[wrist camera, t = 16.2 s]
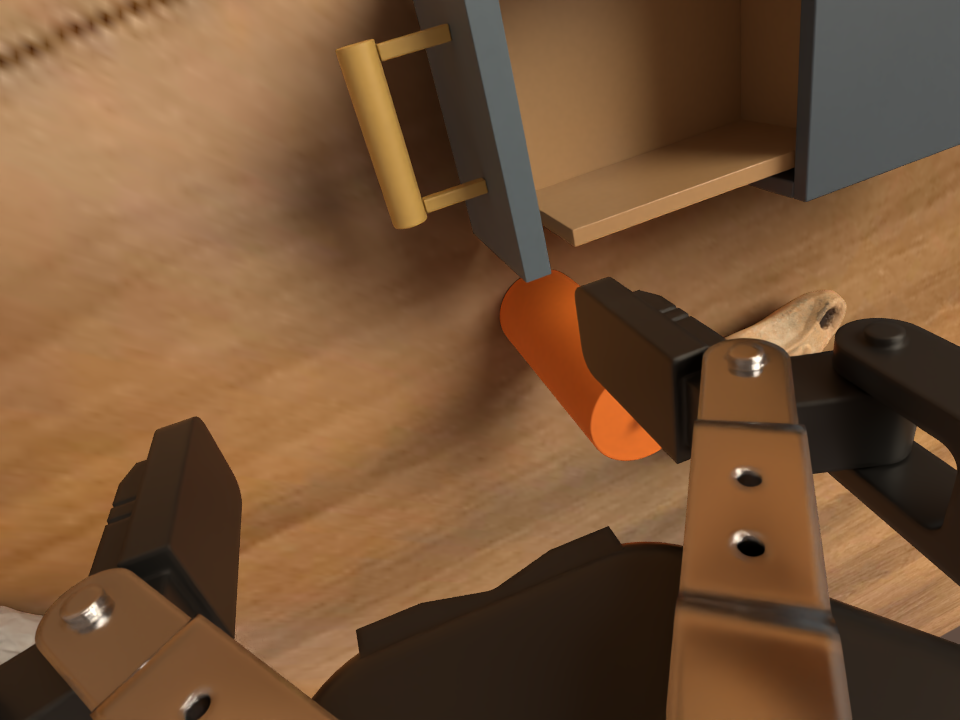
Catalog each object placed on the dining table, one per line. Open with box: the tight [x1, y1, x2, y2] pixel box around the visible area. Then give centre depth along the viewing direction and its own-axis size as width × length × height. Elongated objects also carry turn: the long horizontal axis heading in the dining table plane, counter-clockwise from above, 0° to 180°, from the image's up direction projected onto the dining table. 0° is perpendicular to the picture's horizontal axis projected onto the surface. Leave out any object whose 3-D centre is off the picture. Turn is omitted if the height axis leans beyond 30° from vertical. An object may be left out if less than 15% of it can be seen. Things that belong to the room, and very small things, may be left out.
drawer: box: [335, 0, 801, 283], centre depth 26 cm, size 21×13×8 cm, turn 104°
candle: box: [500, 270, 662, 461], centre depth 31 cm, size 5×5×13 cm
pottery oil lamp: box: [725, 290, 846, 356], centre depth 40 cm, size 9×12×7 cm
